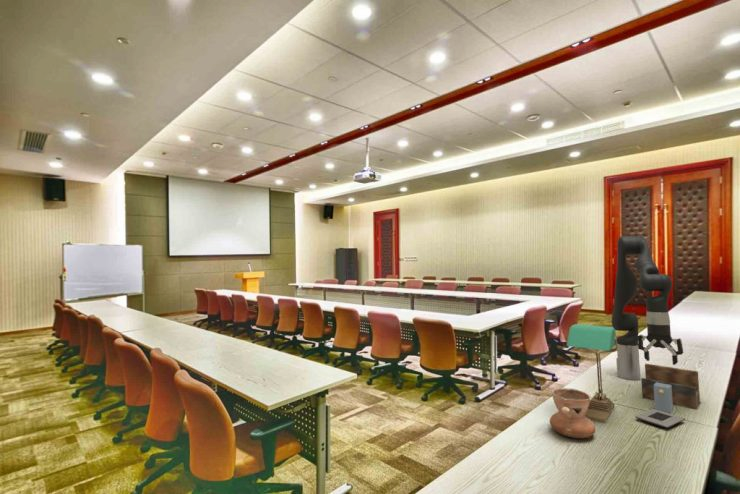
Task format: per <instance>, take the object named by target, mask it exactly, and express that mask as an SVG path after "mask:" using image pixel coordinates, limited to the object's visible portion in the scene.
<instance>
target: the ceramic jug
mask: <svg viewBox="0 0 740 494" xmlns="http://www.w3.org/2000/svg"><path fill="white" fill-rule="evenodd" d="M551 395H552V400H553V402H554V406H555V407H556V409H557V412H555V413H553V414H552V415H551V416H550V418H549V424H550V426H551V428H552V430H554V431H555V432H556V433H558V434H560V435H562V436H564V437H568V438H571V439H587V438H591V437H592V436H593V435H594V434H595V433H596V426H595V424H594V422H593V421H592V420H589V419H588V418H587V417H585V414H586V412H587V409H588V406H589V403H590V400H591V396H590V394H588V393H587V392H585V391H583V390H578V389H576V388H570V387H569V388H568V387H560V388H559V387H557V388H553V389H552V391H551Z"/></svg>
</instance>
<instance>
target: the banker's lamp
mask: <svg viewBox="0 0 740 494" xmlns="http://www.w3.org/2000/svg"><path fill="white" fill-rule="evenodd" d="M566 346H567V347H573V348H579V349H582V350H585V351H588V352H591V353H593V354H595V359H596V371H597V374H596V375H597V389H598V390H597V391H598V392H597V391H596V392H595V395H593V396H592V398H590V403H589V406H588V409H587V412H586V414H585V417H587V418H588V419H590V421H592V420H593V421H592V422H596V421H597V422H598V423H600V424H606V423H607V421H608V419H609V418H610V416H611V414H612V413H613V410H614V409H615V403H614V402H613V400H611V398H610V397H607V393H603V377H602V365H601V354H605V353H615V352H616V353H617V349H618V346H617V334H616V330H615V329H614V328H613V327H612V326H603V325H591V324H577V323H576V324H575V323H574V324H573V325H571V326H570V327H569V330H568V336H567V341H566ZM614 347H615V348H614ZM597 350H598V352H597Z"/></svg>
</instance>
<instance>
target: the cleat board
mask: <svg viewBox="0 0 740 494" xmlns="http://www.w3.org/2000/svg"><path fill="white" fill-rule="evenodd" d="M644 373H645V377H642V378H641V377H640V378H641V379H640V382H641V395H642V399H645V400H649V401H654V402H655V400H654V384H655V383H656V382H658V383H663V384H669V385H672V400H673V406H678V407H684V408H687V409H694V410H697V409H699V408H698V407H699V405H700V404H701V398H700V396H701V395H700V384H699V382H700V381H699V380H700V379H699V371H697V370H691V369H685V368H677V367H673V366H672V367H671V366H665V365H659V364H650V363H645V364H644Z"/></svg>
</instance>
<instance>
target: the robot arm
mask: <svg viewBox="0 0 740 494" xmlns="http://www.w3.org/2000/svg"><path fill="white" fill-rule="evenodd" d="M616 243H617V245H616V248H617V249H616V251H617V252H616V257H617V258H616V261H617V264H616V276H615V282H614V284H615V286H614V301H613V302H614V303H613V309H612V314H611V327H613V328H614V329H615V331H618V332H619V331H622V332H626V333H625V334H624V335H620V336H616V339H617V346H618V349H617V351H616V353H617V354H616V355H617V358H616V375H617V378H621V379H624V380H629V381H639V380H640V381H641V365H640V364H641V363H640V352H639V351H643V357H644V359H645V360H646V361H647V362H650V358H651V357H650V351H649V350H650V349H651V348H652V347H654V348H655V349H656V348H661V349H666V350H668V351H669V352H670V353H671V354H672V356H671V359H672V365H674V366H675V365H677V364H678V362H679V361H678V356H681V355H683V354H684V348H683V341H682V339H681V338H673V337H672V332H671V320H670V319H671V318H670V314H669V306H668V305H669V304H668V303H669V297H670V292H671V289H672V285H673V280H672V278H671V277H670V275H669V274H666V273H665V274H664V273H660V269H659V268H658V266H657V265H656V263H655V262H654V260H653V258H652V255H651V251H650V248H649V245H648V243H647V240H646V238H644V237H643V236H642V235H625V236H624V235H623V236H619V238H618V239H617V242H616ZM631 255H632V256H638V257H637V258H636V260H635V262H634V266H635V269H636V271H637V273H638V274H639V275H638V276H639V278H638V276H637V275H636V273H635V272H634V270H633V269H632V268H631V267H630V265H629V263H628V261H627V256H631ZM638 279H639V280H638ZM639 286H640V288H641V289H642V290H643V291H645V292H658V293H657V295H654V296H649V297H646V299H645V305H646V307H645V308H646V315H645V316H646V329H647V330H646V333H647V335H643V334H639V318H638V316H637V314H635V313H634V312H624V309H625V307H626V306H627V305H628V304H629V303H630V301H632V299H633V298H634V297H636V295H637V293H638V287H639ZM645 340H646V341H648V344H647V345H646V346H644V341H645ZM673 342H674V344H675V345H676V346H677V350H676V349H675V348H674V347H673V346H672V345H671V344H672V343H673Z"/></svg>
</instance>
